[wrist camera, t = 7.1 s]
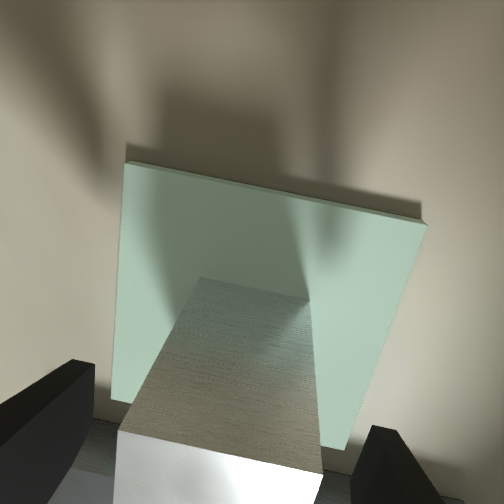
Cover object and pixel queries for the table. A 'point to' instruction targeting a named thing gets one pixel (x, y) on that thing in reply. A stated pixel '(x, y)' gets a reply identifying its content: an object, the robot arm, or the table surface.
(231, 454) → the steel peg
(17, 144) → the table surface
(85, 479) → the plate with square hole
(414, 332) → the table surface
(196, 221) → the rubber pad
